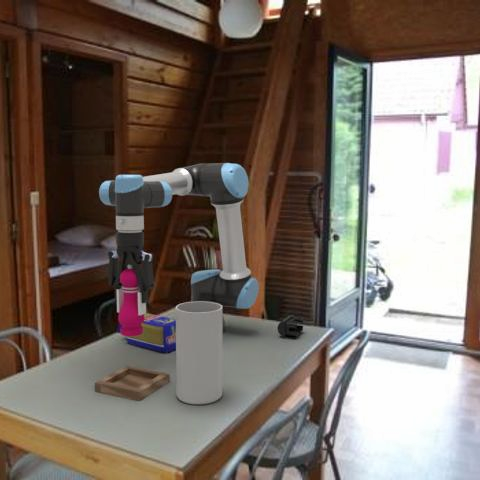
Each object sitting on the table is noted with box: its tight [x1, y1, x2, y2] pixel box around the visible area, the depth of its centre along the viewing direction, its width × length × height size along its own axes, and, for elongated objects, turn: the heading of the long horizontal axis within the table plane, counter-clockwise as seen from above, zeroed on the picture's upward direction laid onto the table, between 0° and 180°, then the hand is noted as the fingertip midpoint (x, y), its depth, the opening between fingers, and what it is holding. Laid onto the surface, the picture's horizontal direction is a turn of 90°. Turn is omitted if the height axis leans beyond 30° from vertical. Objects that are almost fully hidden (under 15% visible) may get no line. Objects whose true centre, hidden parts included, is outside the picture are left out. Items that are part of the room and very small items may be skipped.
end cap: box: [277, 314, 304, 341], centre depth 206 cm, size 10×7×7 cm
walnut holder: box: [94, 365, 171, 402], centre depth 156 cm, size 15×15×2 cm
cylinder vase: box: [175, 301, 223, 405], centre depth 149 cm, size 12×12×25 cm
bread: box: [116, 312, 176, 354], centre depth 194 cm, size 10×25×10 cm, turn 54°
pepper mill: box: [117, 264, 145, 337], centre depth 153 cm, size 7×7×20 cm
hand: (131, 312), depth 154 cm, fingers closed on pepper mill, 6 cm apart
